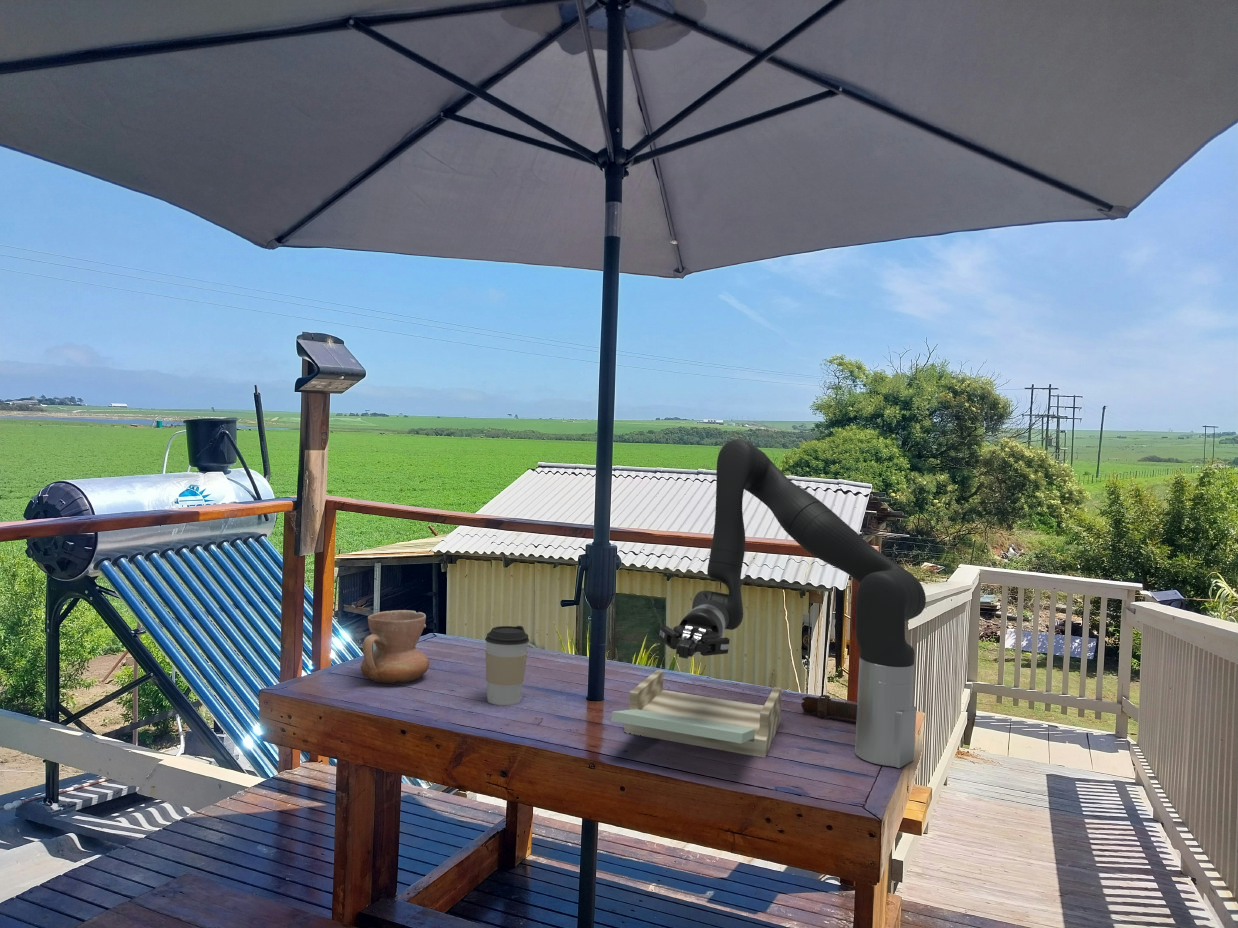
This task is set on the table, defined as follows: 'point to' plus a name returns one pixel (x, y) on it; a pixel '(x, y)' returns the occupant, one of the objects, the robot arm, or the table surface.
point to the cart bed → (706, 716)
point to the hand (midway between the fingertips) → (683, 651)
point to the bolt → (829, 707)
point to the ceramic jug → (394, 647)
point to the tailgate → (685, 725)
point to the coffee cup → (505, 664)
